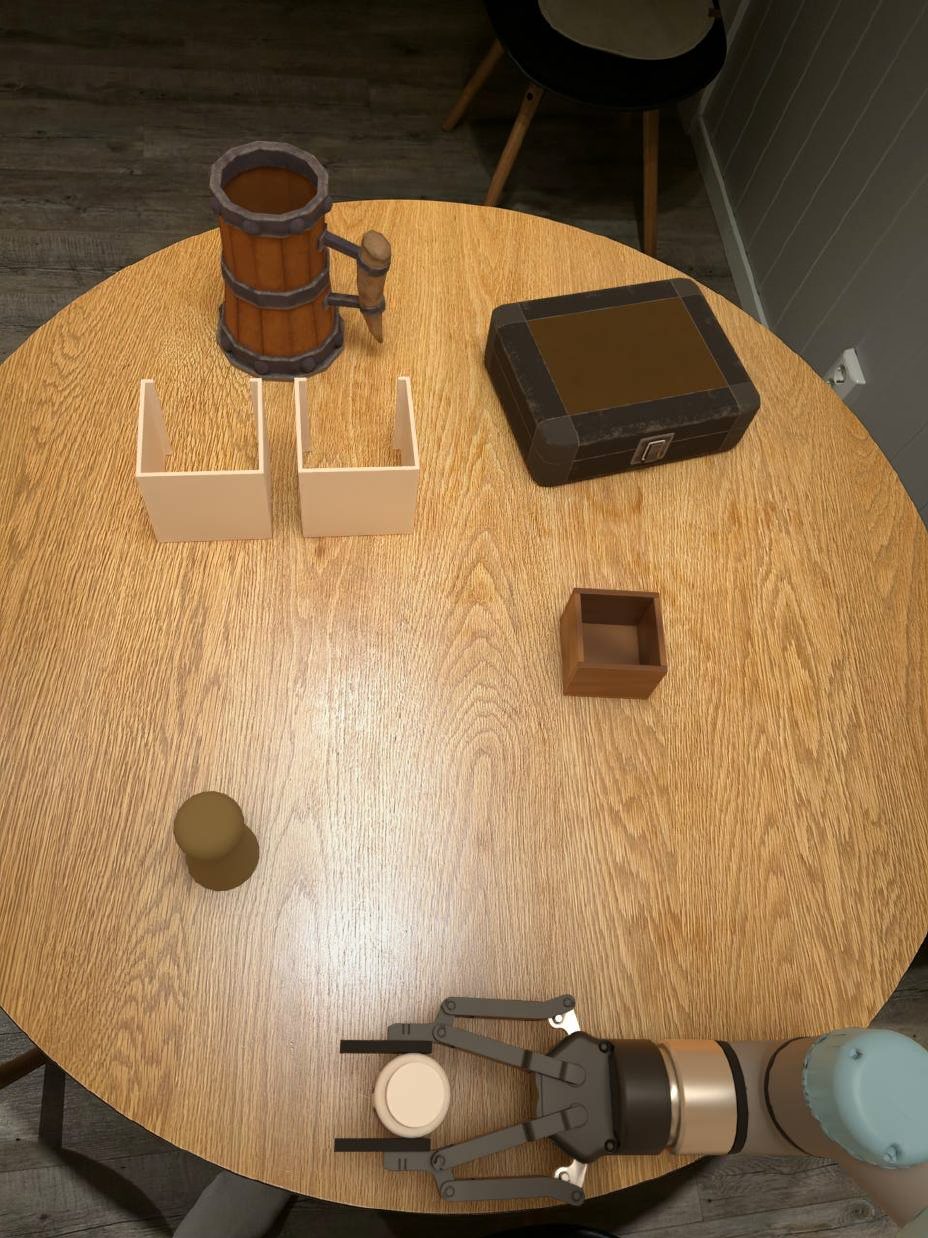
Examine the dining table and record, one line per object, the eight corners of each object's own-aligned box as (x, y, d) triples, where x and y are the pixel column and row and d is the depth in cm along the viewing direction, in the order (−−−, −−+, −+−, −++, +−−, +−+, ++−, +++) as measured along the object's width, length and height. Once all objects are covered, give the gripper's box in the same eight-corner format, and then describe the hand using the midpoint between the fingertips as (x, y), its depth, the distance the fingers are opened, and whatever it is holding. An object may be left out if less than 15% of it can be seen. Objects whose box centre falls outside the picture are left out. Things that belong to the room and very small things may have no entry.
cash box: (537, 496, 99) (551, 451, 92) (478, 353, 108) (487, 302, 101) (744, 454, 105) (771, 409, 98) (673, 321, 113) (694, 271, 107)
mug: (402, 315, 109) (413, 162, 91) (368, 408, 102) (373, 263, 84) (241, 273, 109) (221, 113, 91) (196, 363, 102) (166, 209, 85)
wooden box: (647, 699, 90) (668, 672, 84) (563, 695, 89) (578, 667, 83) (640, 623, 94) (659, 592, 88) (559, 618, 93) (573, 587, 87)
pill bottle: (446, 1129, 71) (461, 1132, 62) (375, 1143, 70) (380, 1148, 61) (436, 1051, 73) (448, 1044, 64) (367, 1063, 72) (370, 1057, 64)
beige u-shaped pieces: (157, 542, 92) (135, 476, 82) (161, 451, 97) (140, 379, 87) (412, 533, 95) (419, 469, 86) (403, 446, 100) (409, 376, 91)
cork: (172, 874, 78) (148, 841, 68) (208, 808, 80) (189, 767, 71) (238, 903, 77) (223, 874, 67) (272, 836, 80) (262, 799, 70)
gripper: (655, 1241, 67) (328, 1245, 65) (634, 968, 76) (344, 963, 73) (690, 1255, 60) (327, 1261, 58) (662, 954, 69) (345, 948, 67)
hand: (337, 1095), depth 66 cm, fingers closed on pill bottle, 5 cm apart
